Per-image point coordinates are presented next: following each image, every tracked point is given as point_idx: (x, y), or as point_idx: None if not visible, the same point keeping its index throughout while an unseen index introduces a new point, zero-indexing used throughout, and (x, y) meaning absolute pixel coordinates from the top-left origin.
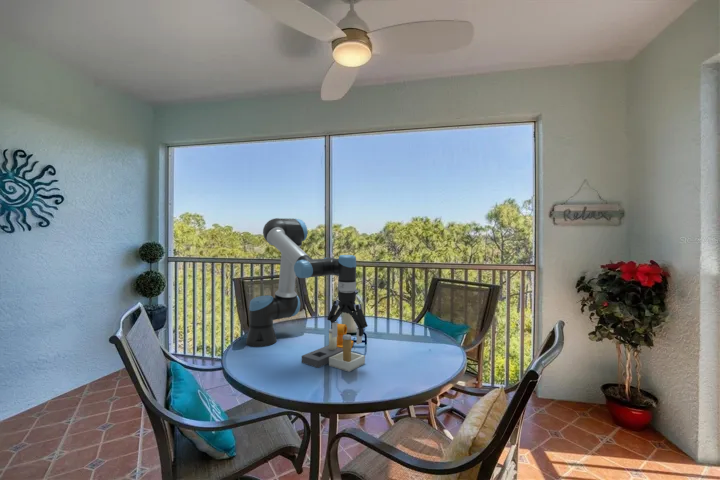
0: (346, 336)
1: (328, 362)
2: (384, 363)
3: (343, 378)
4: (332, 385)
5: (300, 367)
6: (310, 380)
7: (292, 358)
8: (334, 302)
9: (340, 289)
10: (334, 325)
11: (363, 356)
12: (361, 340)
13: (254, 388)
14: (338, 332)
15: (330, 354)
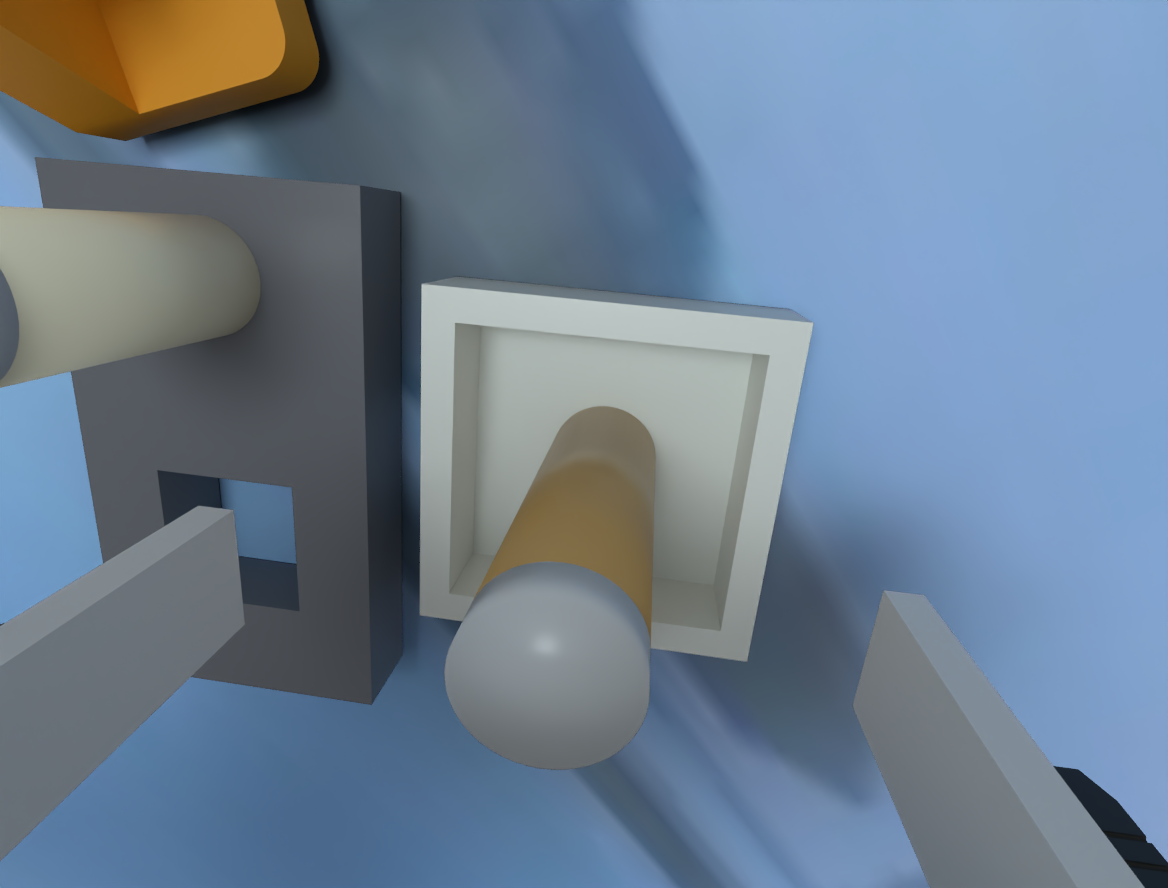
0: (570, 734)
1: (398, 518)
2: (1055, 142)
3: (763, 742)
4: (749, 876)
5: (263, 711)
6: (531, 869)
7: (23, 579)
8: None
9: None
10: (4, 803)
11: (805, 361)
12: (943, 637)
13: None
14: None
15: (340, 485)
